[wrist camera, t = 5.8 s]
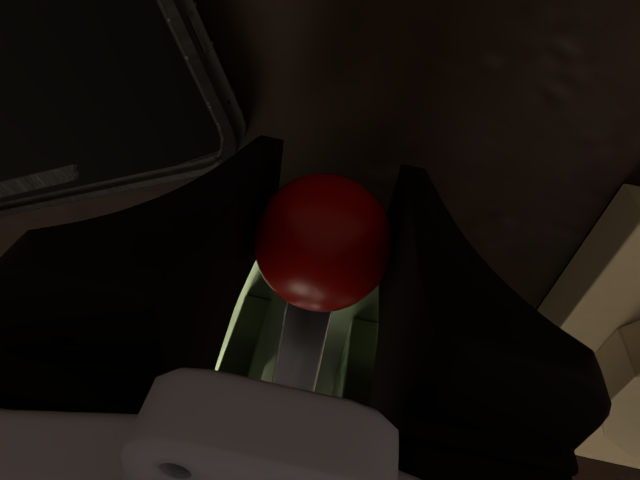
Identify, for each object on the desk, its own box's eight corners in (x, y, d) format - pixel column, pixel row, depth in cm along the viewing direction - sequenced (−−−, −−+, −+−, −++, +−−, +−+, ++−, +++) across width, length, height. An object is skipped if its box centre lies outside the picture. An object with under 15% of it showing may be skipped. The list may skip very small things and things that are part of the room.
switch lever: (278, 153, 12) (251, 172, 9) (401, 178, 12) (414, 206, 9) (219, 512, 16) (185, 610, 13) (313, 533, 16) (302, 637, 13)
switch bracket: (215, 206, 17) (57, 504, 9) (442, 253, 17) (461, 595, 9) (216, 367, 23) (124, 616, 16) (378, 402, 23) (360, 670, 16)
